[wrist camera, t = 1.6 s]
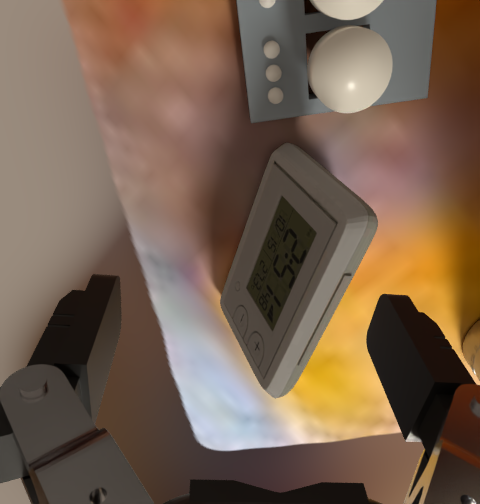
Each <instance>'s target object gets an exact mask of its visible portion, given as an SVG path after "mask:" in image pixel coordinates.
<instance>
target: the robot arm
mask: <svg viewBox="0 0 480 504" xmlns="http://www.w3.org/2000/svg"><path fill="white" fill-rule="evenodd" d="M120 329H121V292H120V277H119V276H113V275H98V274H97V275H96V274H93V275H92V276H91V279H90V281H89V283H88V286H87V288H86V290H85V291H81V290H72V291H71V292H70V293H68V294H67V295H66V296H65V297H63V298H62V299H61V300H60V301H59V303H58V305H57V307H56V309H55V311H54V313H53V316H52V317H51V319H50V321H49V323H48V327H46V329H45V331H44V333H43V335H42V337H41V339H40V341H39V343H38V345H37V347H36V349H35V351H34V353H33V355H32V357H31V359H30V361H29V363H28V365H27V366H26V367H25V368H22V369H20V370H18V371H16V372H15V373H13V374H12V375H10V376H9V377H8V378H7V379H6V380H5V381H4V383H3V384H2V386H1V387H0V483H3V482H7V481H10V480H14V479H18V478H21V480H22V483H23V485H24V488H25V490H26V493H27V495H28V497H29V500H30V502H31V504H154V503H153V501H152V499H151V498H150V496H149V495H148V493H147V492H146V490H145V488H144V487H143V485H142V483H141V482H140V480H139V479H138V477H137V476H136V474H135V472H134V471H133V469H132V468H131V466H130V464H129V463H128V461H127V460H126V458H125V456H124V455H123V453H122V452H121V450H120V449H119V447H118V445H117V444H116V443H115V440H114V439H113V437H112V436H111V434H110V433H109V432H108V431H107V430H106V429H105V428H102V429H100V430H98V428H97V427H96V426H95V421H96V418H97V414H98V411H99V407H100V403H101V400H102V396H103V393H104V389H105V385H106V382H107V379H108V375H109V371H110V368H111V364H112V361H113V357H114V353H115V350H116V346H117V343H118V339H119V335H120ZM366 340H367V349H368V352H369V354H370V357H371V359H372V362H373V364H374V366H375V369H376V371H377V374H378V376H379V379H380V381H381V383H382V386H383V388H384V391H385V393H386V395H387V398H388V400H389V403H390V405H391V408H392V410H393V412H394V415H395V417H396V420H397V422H398V424H399V427H400V429H401V432H402V434H403V437H404V439H405V441H408V442H422V444H423V446H424V448H425V449H424V451H423V453H422V455H421V457H420V459H419V462H418V465H417V468H416V471H415V473H414V476H413V479H412V482H411V485H410V488H409V490H408V493H407V496H406V498H405V501H404V504H480V385H476V383H475V382H474V380H473V379H472V377H471V375H470V374H469V372H468V371H467V369H466V368H465V366H464V365H463V363H462V362H461V360H460V359H459V357H458V355H457V354H456V352H455V351H454V349H452V346H451V345H450V343H449V342H448V340H447V339H445V336H444V334H443V332H442V331H441V329H440V328H439V326H438V325H437V324H436V323H435V322H434V321H433V320H432V319H431V318H429V317H428V316H427V315H426V314H425V313H423V312H418V310H417V309H416V307H415V305H414V304H413V302H412V301H411V299H410V298H409V297H408V296H407V295H392V294H382V295H381V296H380V298H379V300H378V303H377V305H376V308H375V311H374V314H373V317H372V320H371V323H370V325H369V328H368V331H367V339H366ZM463 354H464V358H465V359H466V361H467V362H468V364H469V365H470V367H471V369H472V371H473V372H474V374H475V375H476V376H477V378H478V379H479V381H480V320H479V321H477V322H476V323H475V324H474V325H473V327H472V328H471V329H470V330H469V332H468V333H467V335H466V337H465V340H464V343H463ZM163 504H381V503H379V502H377V501H374V500H372V499H368V497H367V494H366V491H365V487H364V484H363V483H327V482H325V483H323V482H322V483H318V484H314V485H310V486H306V487H302V488H299V489H295V490H291V491H288V492H283V493H278V492H274V491H270V490H266V489H263V488H259V487H256V486H252V485H249V484H245V483H241V482H238V481H234V480H190V491H189V494H186V495H182V496H179V497H176V498H174V499H172V500H169V501H167V502H165V503H163Z"/></svg>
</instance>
